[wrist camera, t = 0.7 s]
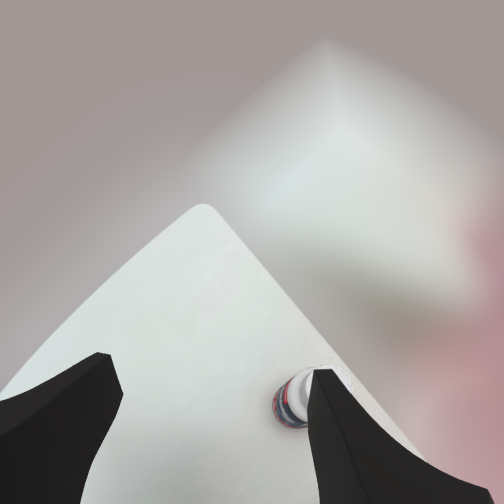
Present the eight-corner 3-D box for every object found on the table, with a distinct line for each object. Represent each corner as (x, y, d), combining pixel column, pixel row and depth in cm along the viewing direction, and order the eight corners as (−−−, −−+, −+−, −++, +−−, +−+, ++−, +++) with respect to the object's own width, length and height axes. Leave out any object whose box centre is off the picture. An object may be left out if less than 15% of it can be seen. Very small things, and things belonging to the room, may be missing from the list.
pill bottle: (266, 388, 27) (289, 363, 21) (312, 377, 29) (347, 349, 22) (278, 434, 24) (308, 427, 17) (325, 421, 25) (367, 406, 19)
